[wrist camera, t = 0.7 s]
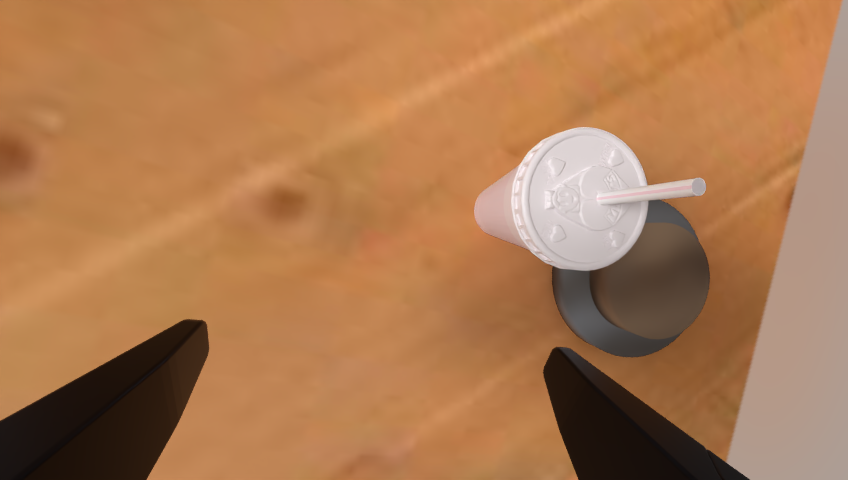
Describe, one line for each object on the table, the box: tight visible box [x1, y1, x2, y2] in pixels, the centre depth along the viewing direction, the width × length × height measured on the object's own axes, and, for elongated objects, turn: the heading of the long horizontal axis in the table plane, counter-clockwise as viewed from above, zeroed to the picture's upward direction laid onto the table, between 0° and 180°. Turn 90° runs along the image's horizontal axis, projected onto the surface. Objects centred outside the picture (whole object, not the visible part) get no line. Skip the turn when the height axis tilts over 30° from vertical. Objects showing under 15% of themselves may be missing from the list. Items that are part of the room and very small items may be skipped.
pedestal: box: [552, 200, 710, 357], centre depth 24 cm, size 12×12×4 cm
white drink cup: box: [474, 127, 706, 271], centre depth 17 cm, size 6×6×14 cm
